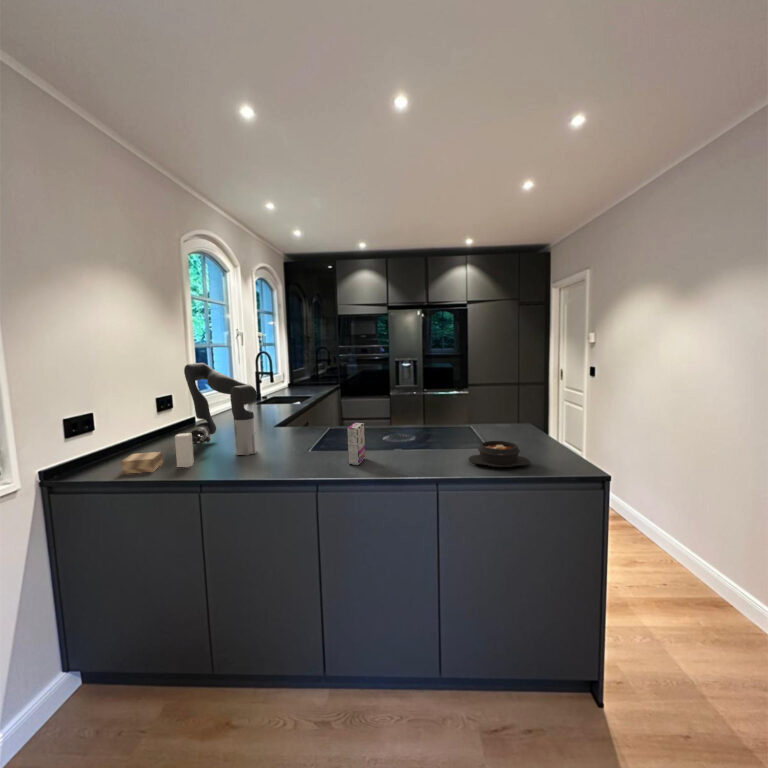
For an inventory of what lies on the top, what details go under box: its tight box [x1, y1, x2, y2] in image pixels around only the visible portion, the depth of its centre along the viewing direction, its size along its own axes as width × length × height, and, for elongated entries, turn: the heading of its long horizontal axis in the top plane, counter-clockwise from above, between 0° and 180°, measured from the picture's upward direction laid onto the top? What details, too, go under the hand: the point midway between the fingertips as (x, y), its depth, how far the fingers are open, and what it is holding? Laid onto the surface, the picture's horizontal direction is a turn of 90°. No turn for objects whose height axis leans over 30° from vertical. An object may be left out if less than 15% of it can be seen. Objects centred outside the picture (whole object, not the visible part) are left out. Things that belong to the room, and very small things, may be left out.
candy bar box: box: [346, 422, 366, 464], centre depth 176 cm, size 11×5×16 cm, turn 168°
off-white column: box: [174, 432, 195, 468], centre depth 177 cm, size 6×6×14 cm
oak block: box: [120, 451, 164, 475], centre depth 174 cm, size 12×12×6 cm
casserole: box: [467, 440, 531, 468], centre depth 168 cm, size 25×19×8 cm
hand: (190, 443), depth 187 cm, fingers open, 8 cm apart
